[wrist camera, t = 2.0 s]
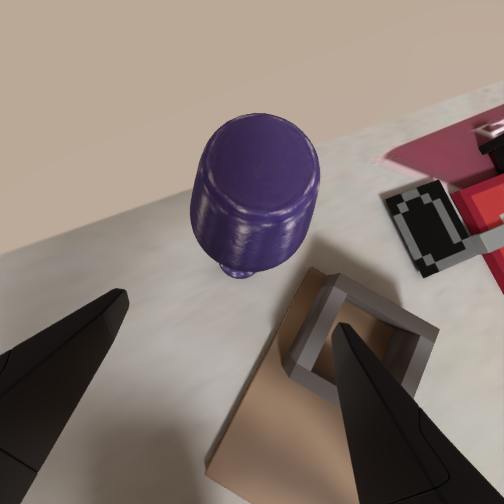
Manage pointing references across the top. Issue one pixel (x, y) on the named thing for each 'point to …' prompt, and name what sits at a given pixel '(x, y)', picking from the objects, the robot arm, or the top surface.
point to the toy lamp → (254, 193)
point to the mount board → (313, 395)
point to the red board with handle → (455, 221)
